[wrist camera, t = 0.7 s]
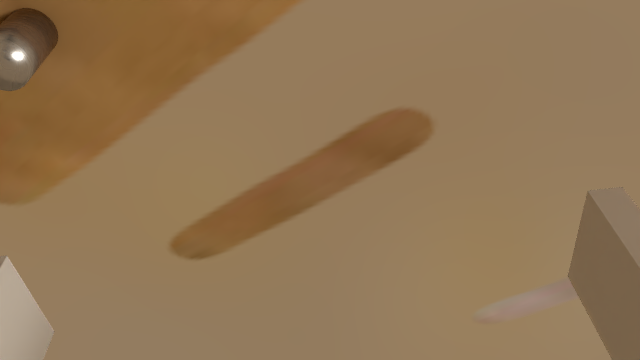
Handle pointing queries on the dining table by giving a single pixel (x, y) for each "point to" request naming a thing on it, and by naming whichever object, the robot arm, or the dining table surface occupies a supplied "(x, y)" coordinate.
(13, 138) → the dining table surface
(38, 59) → the salt shaker
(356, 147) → the dining table surface
